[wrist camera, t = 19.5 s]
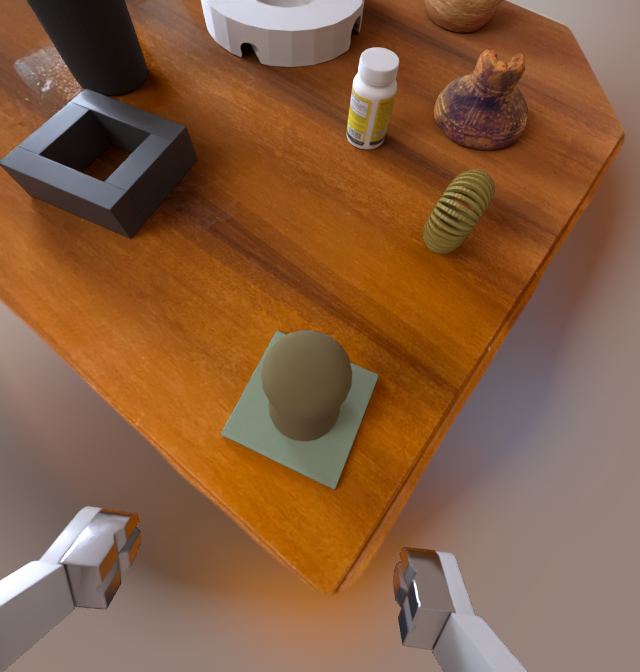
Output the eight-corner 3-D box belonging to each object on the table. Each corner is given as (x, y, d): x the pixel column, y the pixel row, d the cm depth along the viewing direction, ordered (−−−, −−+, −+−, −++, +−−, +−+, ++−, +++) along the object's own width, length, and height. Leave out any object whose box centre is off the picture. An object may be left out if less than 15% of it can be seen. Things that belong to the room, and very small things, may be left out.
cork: (351, 425, 27) (383, 400, 17) (281, 453, 26) (269, 443, 16) (325, 359, 29) (339, 301, 19) (259, 382, 28) (235, 333, 18)
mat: (334, 489, 25) (334, 490, 25) (221, 434, 26) (220, 434, 26) (378, 376, 29) (379, 375, 29) (277, 331, 30) (276, 330, 30)
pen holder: (148, 50, 44) (108, -60, 35) (155, 94, 41) (113, -14, 32) (74, 57, 43) (12, -56, 34) (74, 103, 40) (6, -8, 30)
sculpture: (440, 208, 37) (476, 143, 29) (472, 226, 36) (517, 164, 29) (406, 255, 34) (435, 196, 27) (440, 275, 33) (480, 220, 26)
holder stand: (131, 239, 33) (109, 210, 29) (29, 195, 34) (-3, 162, 30) (197, 160, 37) (186, 126, 34) (106, 124, 39) (85, 88, 35)
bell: (417, 128, 42) (440, 62, 35) (452, 80, 46) (479, 14, 39) (503, 167, 40) (544, 106, 33) (531, 113, 44) (573, 50, 37)
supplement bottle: (383, 126, 41) (403, 47, 34) (384, 152, 40) (405, 75, 32) (346, 122, 41) (357, 42, 33) (345, 148, 39) (356, 70, 32)
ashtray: (324, -29, 55) (326, -65, 51) (386, 50, 48) (394, 15, 44) (187, -11, 50) (178, -49, 47) (232, 80, 43) (226, 44, 39)
